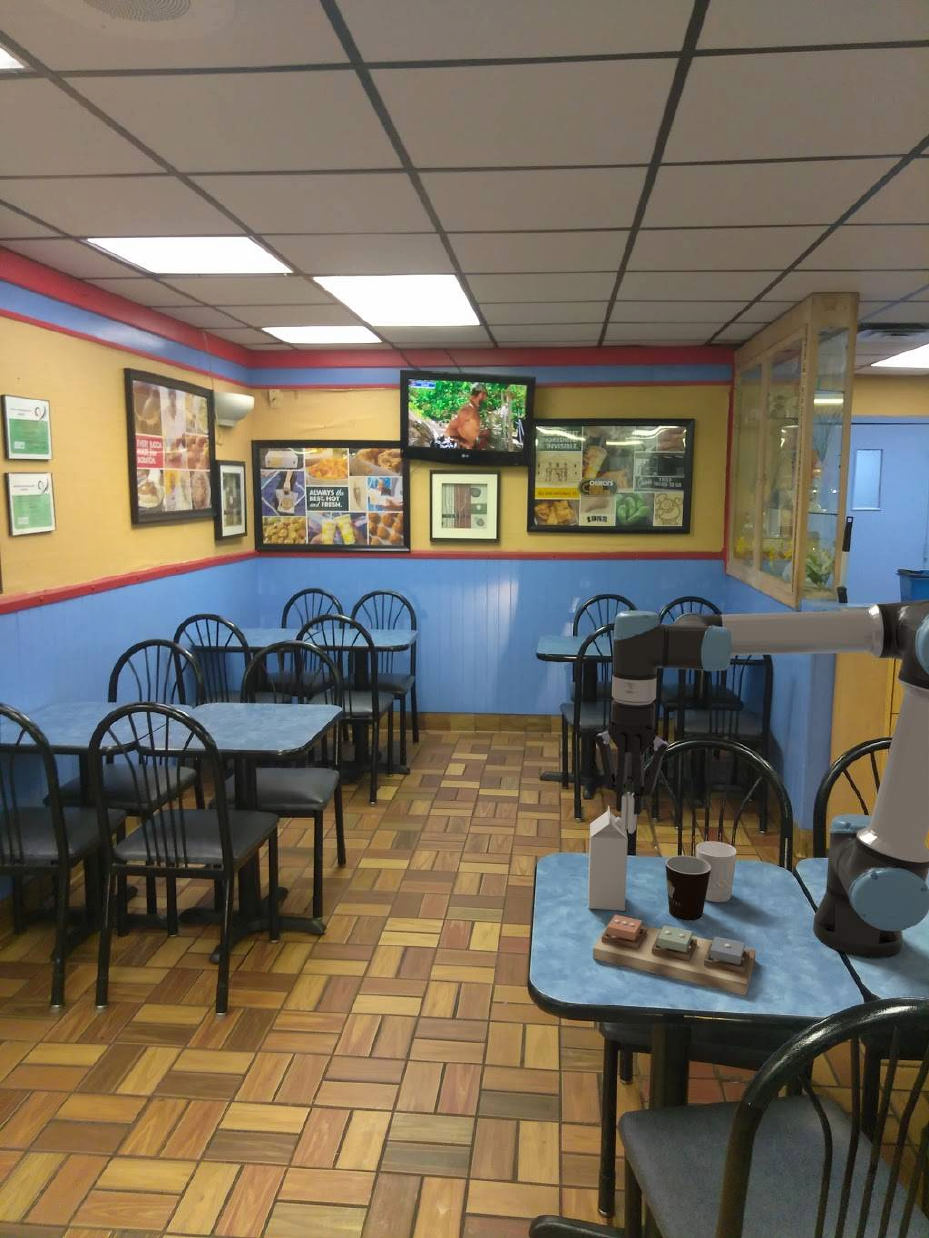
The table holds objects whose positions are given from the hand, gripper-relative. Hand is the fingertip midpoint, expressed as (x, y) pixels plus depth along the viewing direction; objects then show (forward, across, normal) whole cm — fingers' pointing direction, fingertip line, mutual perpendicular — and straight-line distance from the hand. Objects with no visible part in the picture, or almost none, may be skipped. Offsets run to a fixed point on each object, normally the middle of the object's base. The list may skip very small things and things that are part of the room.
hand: (628, 829), depth 156 cm
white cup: (+23, +11, +29) cm, 38 cm away
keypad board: (+22, +9, 0) cm, 24 cm away
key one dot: (+19, +18, 0) cm, 26 cm away
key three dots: (+19, 0, 0) cm, 19 cm away
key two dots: (+19, +9, 0) cm, 21 cm away
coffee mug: (+23, +7, +20) cm, 31 cm away
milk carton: (+23, -8, +16) cm, 29 cm away
